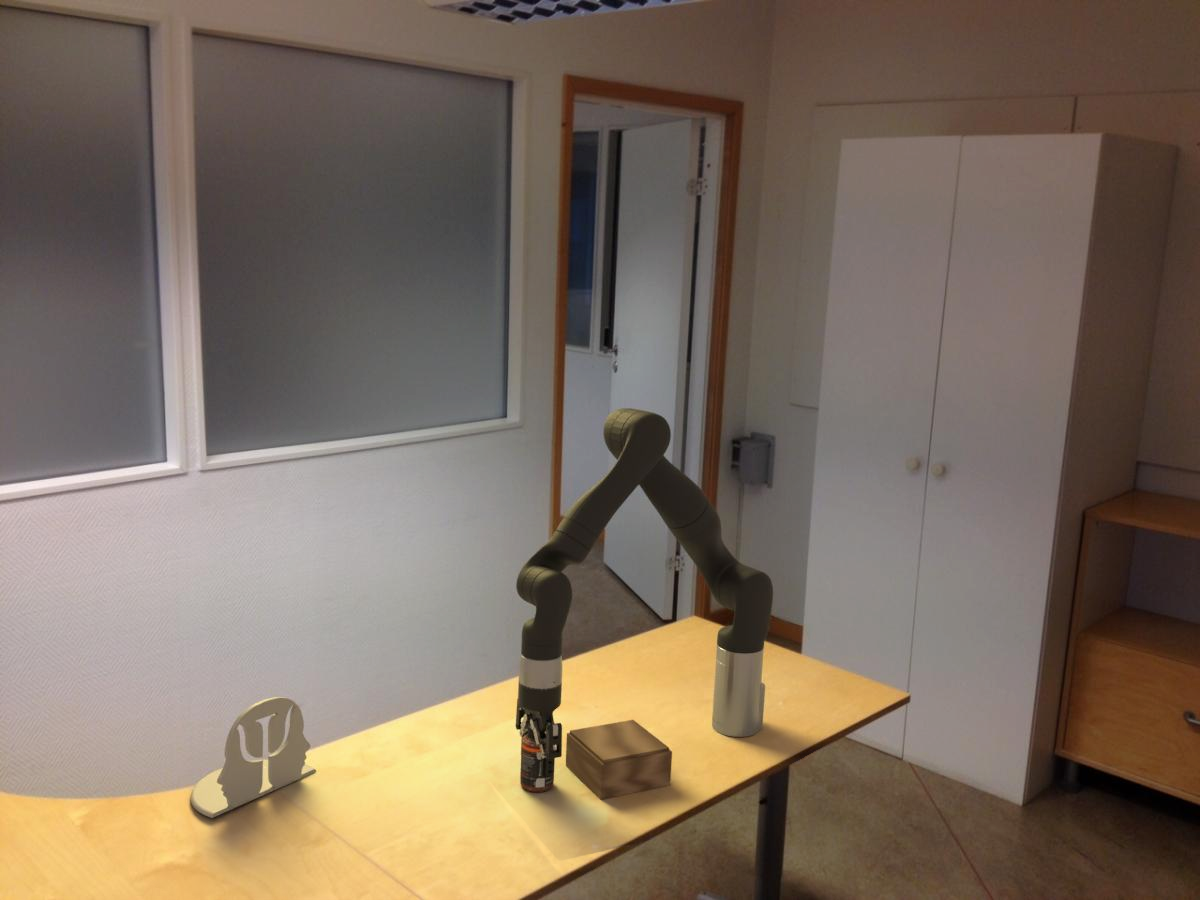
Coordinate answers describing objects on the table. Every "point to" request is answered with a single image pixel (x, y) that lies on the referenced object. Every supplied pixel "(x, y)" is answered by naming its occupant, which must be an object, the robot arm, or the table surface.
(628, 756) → the walnut block
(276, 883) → the table surface
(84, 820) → the table surface
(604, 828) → the table surface
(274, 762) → the ornament
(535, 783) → the supplement bottle
